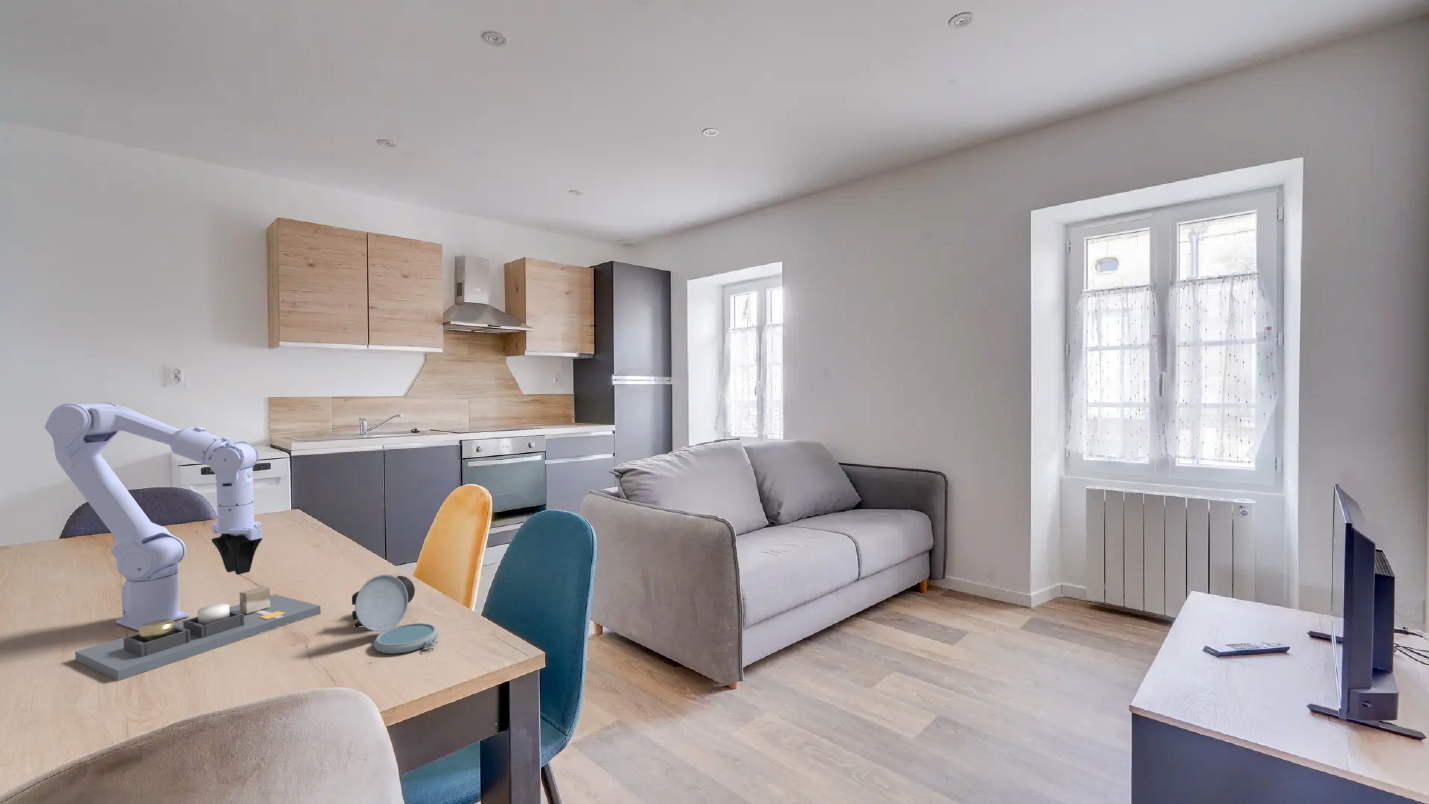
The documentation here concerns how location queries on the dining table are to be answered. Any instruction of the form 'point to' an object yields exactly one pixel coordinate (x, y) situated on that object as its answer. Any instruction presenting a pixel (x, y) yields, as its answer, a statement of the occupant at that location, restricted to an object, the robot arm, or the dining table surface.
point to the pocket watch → (391, 616)
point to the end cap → (407, 584)
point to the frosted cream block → (254, 599)
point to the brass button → (156, 629)
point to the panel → (190, 638)
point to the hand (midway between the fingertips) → (238, 571)
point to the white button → (213, 613)
